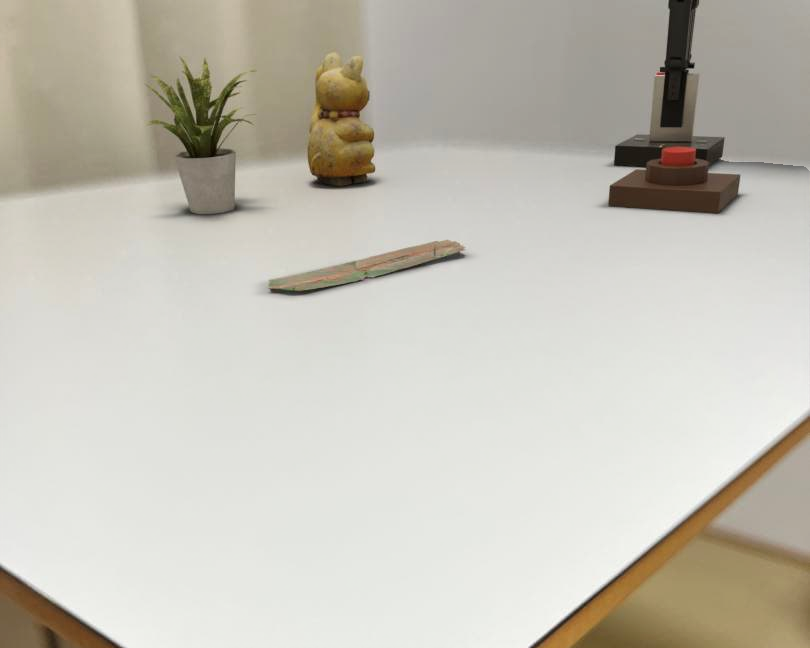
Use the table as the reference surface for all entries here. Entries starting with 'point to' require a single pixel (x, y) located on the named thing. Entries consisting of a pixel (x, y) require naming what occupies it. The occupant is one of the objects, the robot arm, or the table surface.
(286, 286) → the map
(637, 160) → the dial panel
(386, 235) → the table surface
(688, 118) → the white upright block
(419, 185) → the table surface
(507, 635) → the table surface
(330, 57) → the decorative figurine
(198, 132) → the house plant
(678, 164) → the power button
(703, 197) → the switch block
